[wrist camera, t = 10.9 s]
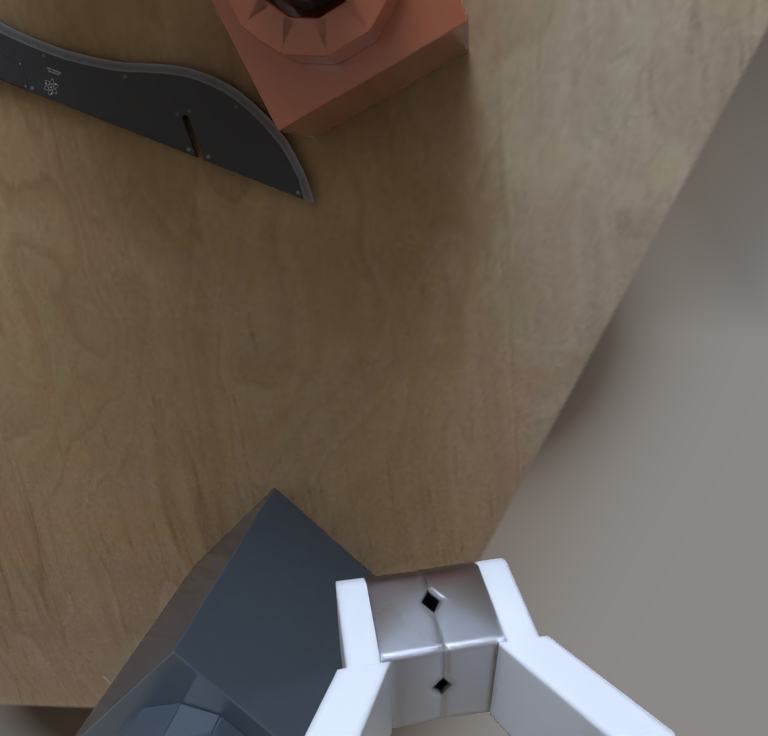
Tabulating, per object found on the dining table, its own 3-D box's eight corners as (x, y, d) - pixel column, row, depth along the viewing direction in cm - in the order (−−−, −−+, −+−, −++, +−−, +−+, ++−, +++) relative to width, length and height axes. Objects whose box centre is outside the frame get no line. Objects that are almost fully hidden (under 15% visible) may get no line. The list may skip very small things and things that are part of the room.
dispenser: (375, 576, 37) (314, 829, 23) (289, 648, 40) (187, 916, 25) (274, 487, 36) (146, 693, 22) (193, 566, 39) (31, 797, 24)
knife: (341, 126, 30) (338, 125, 29) (313, 211, 31) (310, 212, 30) (-283, -118, 30) (-298, -124, 29) (-282, -24, 31) (-296, -27, 31)
